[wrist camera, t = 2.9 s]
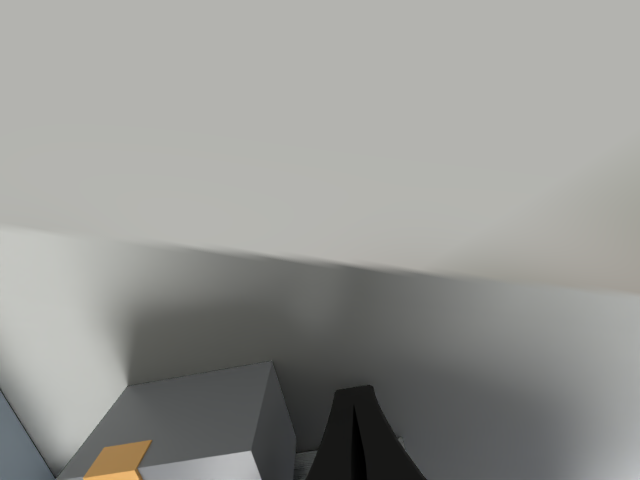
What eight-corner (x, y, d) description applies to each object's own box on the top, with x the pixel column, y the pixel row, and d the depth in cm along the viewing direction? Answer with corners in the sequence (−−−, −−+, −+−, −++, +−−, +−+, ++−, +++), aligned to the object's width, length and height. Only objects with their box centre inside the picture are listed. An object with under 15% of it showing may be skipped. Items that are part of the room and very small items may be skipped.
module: (272, 357, 13) (249, 452, 9) (297, 437, 15) (286, 550, 11) (128, 383, 14) (50, 483, 10) (164, 458, 15) (108, 573, 11)
